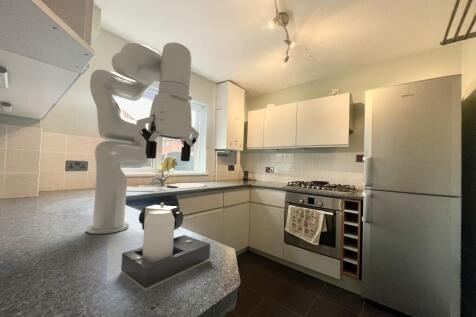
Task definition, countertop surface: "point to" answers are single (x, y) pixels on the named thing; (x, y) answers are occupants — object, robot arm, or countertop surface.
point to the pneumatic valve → (175, 210)
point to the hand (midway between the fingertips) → (169, 159)
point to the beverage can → (158, 235)
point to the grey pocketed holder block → (165, 262)
